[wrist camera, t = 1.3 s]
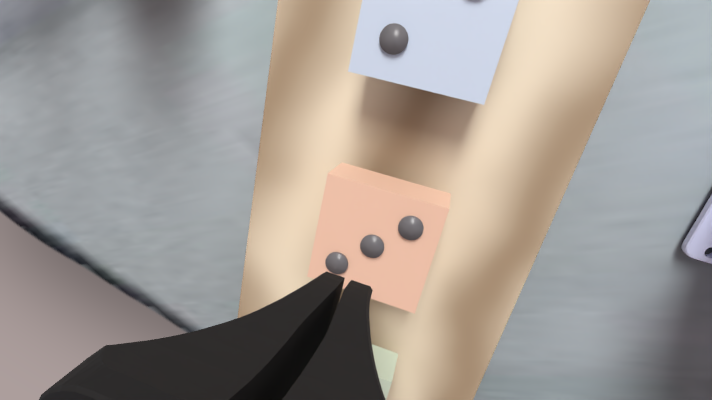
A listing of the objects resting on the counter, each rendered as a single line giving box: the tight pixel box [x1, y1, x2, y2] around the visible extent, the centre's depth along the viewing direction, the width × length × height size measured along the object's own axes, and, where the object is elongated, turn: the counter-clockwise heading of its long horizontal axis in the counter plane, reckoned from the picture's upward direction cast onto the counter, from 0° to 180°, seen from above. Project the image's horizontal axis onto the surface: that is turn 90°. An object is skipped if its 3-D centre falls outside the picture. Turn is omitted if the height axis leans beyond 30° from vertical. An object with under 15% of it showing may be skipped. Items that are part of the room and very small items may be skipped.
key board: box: [238, 0, 650, 400], centre depth 20 cm, size 14×28×2 cm, turn 167°
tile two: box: [348, 0, 519, 105], centre depth 14 cm, size 5×5×2 cm
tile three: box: [307, 162, 451, 314], centre depth 17 cm, size 5×5×2 cm
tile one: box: [372, 344, 398, 400], centre depth 20 cm, size 5×5×2 cm
